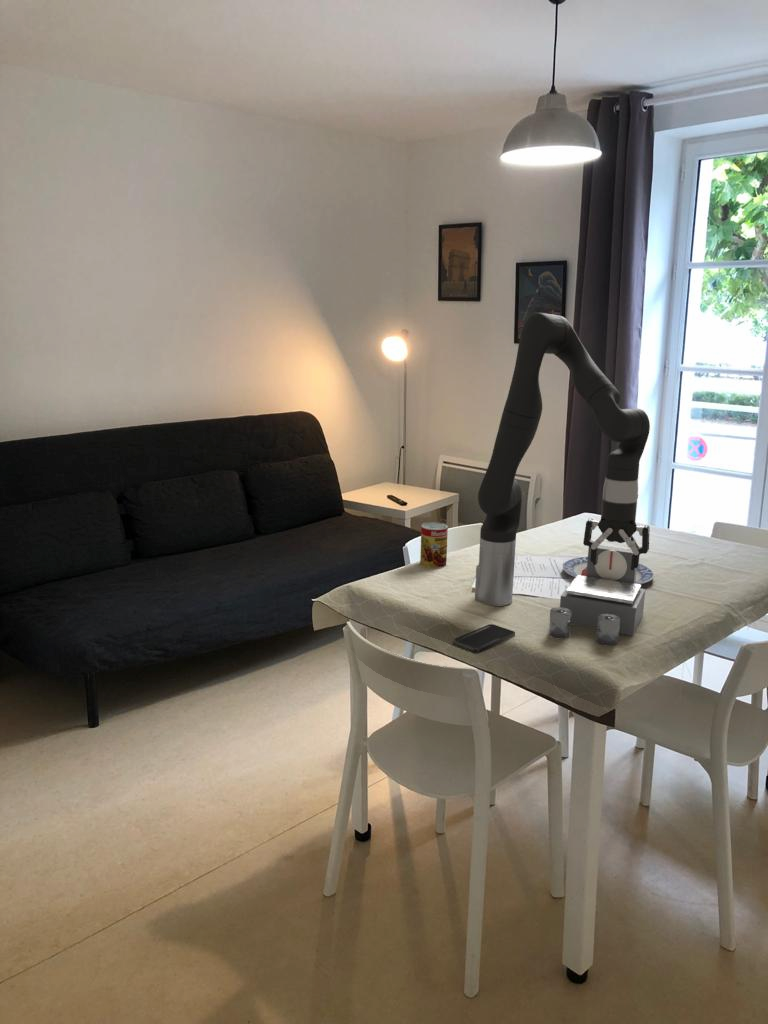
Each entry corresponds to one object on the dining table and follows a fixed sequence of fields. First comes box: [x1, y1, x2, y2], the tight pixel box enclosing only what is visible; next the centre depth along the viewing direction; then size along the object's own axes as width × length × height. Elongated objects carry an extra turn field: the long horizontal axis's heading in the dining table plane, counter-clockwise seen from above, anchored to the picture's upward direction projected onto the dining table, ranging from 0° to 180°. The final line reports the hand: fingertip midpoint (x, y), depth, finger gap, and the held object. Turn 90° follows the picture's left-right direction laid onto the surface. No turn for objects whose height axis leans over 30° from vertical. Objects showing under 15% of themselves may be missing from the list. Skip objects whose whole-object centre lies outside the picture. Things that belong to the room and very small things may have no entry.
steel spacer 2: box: [595, 614, 620, 647], centre depth 193 cm, size 5×5×6 cm
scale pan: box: [565, 575, 642, 604], centre depth 206 cm, size 16×13×1 cm
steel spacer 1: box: [548, 606, 572, 640], centre depth 197 cm, size 5×5×6 cm
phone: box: [452, 623, 516, 653], centre depth 194 cm, size 8×1×15 cm
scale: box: [559, 544, 646, 636], centre depth 207 cm, size 18×18×16 cm
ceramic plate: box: [562, 556, 655, 585], centre depth 240 cm, size 26×26×3 cm
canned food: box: [419, 522, 449, 569], centre depth 247 cm, size 8×8×12 cm
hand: (614, 566), depth 189 cm, fingers open, 8 cm apart
